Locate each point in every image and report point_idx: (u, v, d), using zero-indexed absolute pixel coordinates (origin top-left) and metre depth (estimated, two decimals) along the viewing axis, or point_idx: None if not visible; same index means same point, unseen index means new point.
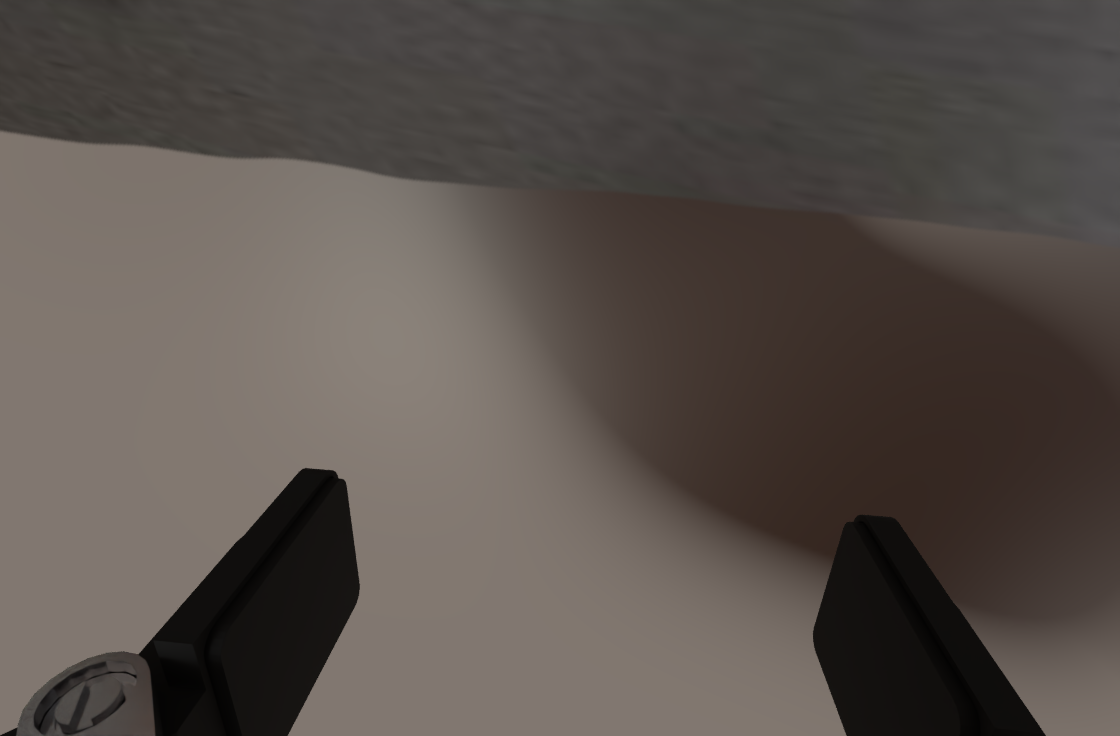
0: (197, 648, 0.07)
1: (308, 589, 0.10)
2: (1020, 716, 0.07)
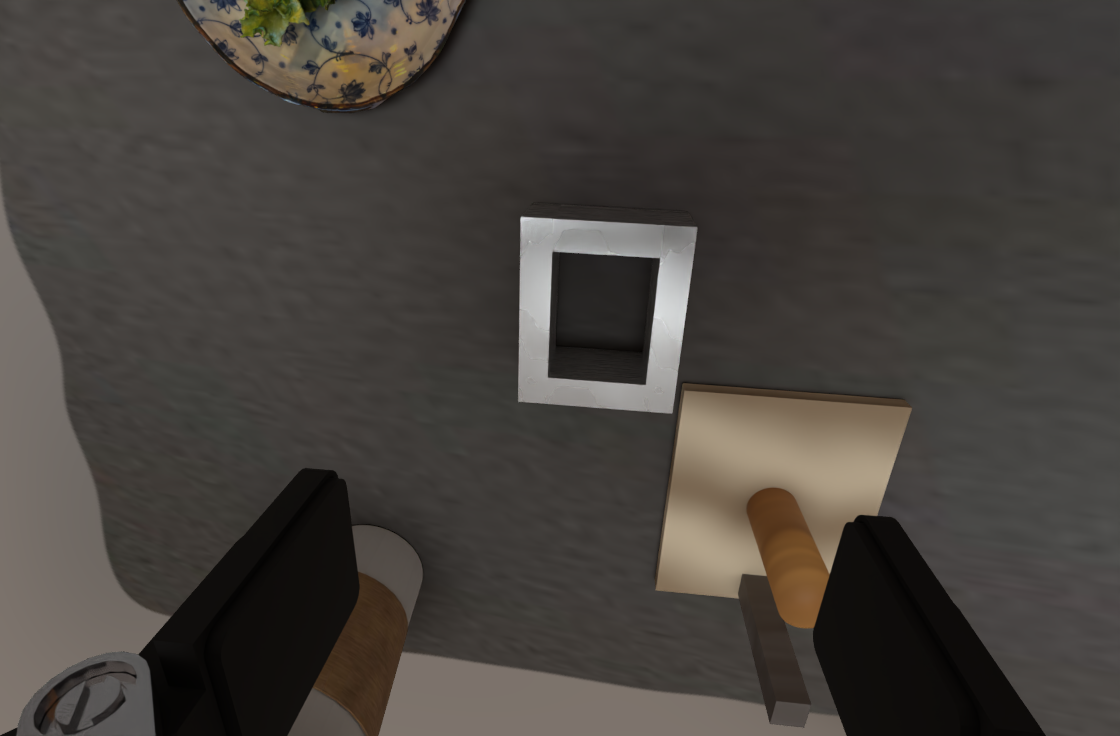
0: (197, 648, 0.07)
1: (308, 589, 0.10)
2: (1020, 716, 0.07)
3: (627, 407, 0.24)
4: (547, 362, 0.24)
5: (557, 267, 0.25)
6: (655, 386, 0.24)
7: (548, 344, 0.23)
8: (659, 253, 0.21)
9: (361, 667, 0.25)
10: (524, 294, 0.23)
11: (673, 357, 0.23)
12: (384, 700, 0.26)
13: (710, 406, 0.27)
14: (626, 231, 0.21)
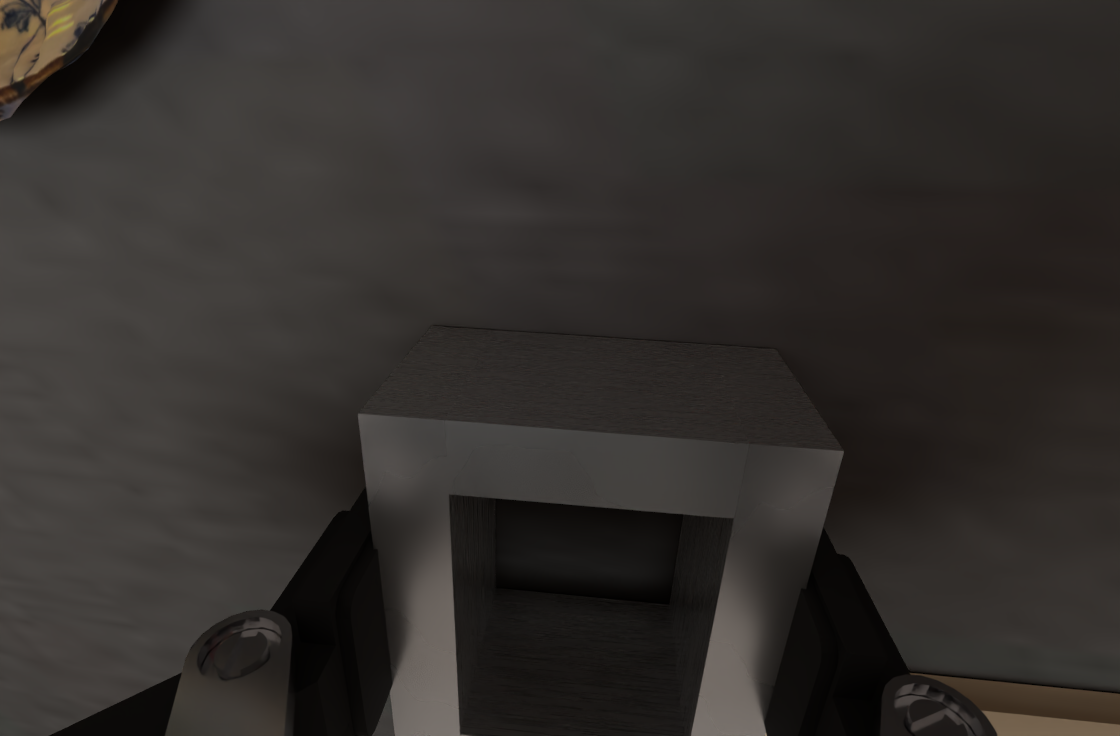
0: (330, 606, 0.08)
1: None
2: (871, 644, 0.07)
3: None
4: (457, 706, 0.10)
5: None
6: None
7: (457, 673, 0.10)
8: (732, 508, 0.08)
9: None
10: (388, 580, 0.09)
11: (754, 715, 0.10)
12: None
13: None
14: (644, 455, 0.08)
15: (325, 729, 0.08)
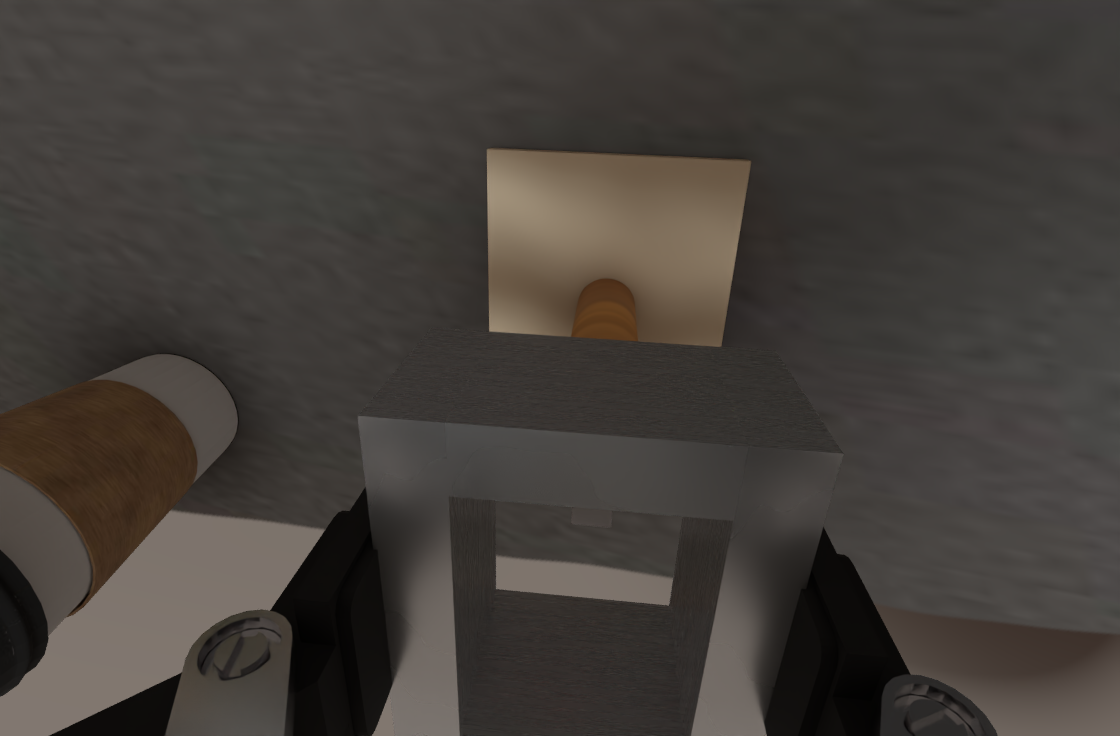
0: (330, 606, 0.08)
1: None
2: (871, 644, 0.07)
3: None
4: (457, 708, 0.10)
5: None
6: None
7: (457, 675, 0.10)
8: (732, 510, 0.08)
9: (91, 464, 0.21)
10: (388, 582, 0.09)
11: (754, 717, 0.10)
12: (129, 511, 0.22)
13: (519, 169, 0.23)
14: (644, 457, 0.08)
15: (325, 729, 0.08)
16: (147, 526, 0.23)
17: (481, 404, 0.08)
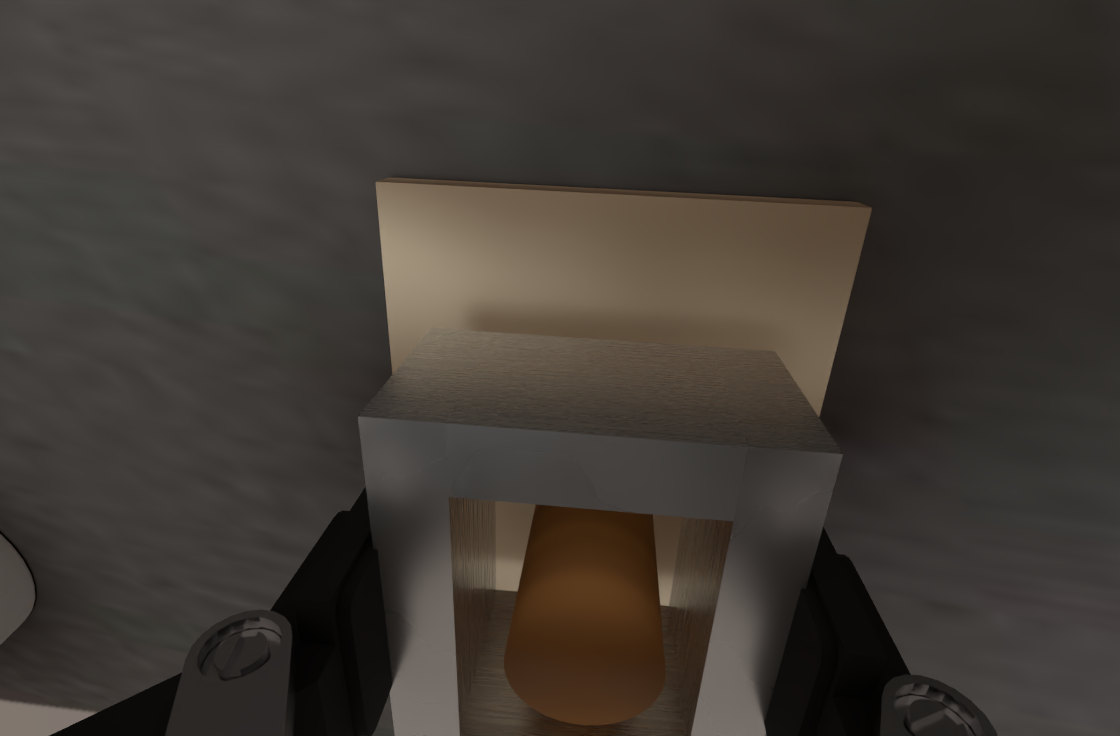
0: (330, 606, 0.08)
1: None
2: (871, 644, 0.07)
3: None
4: (457, 708, 0.10)
5: None
6: None
7: (457, 675, 0.10)
8: (731, 510, 0.08)
9: None
10: (388, 582, 0.09)
11: (754, 717, 0.10)
12: None
13: (437, 219, 0.12)
14: (643, 458, 0.08)
15: (325, 729, 0.08)
16: None
17: (481, 405, 0.08)
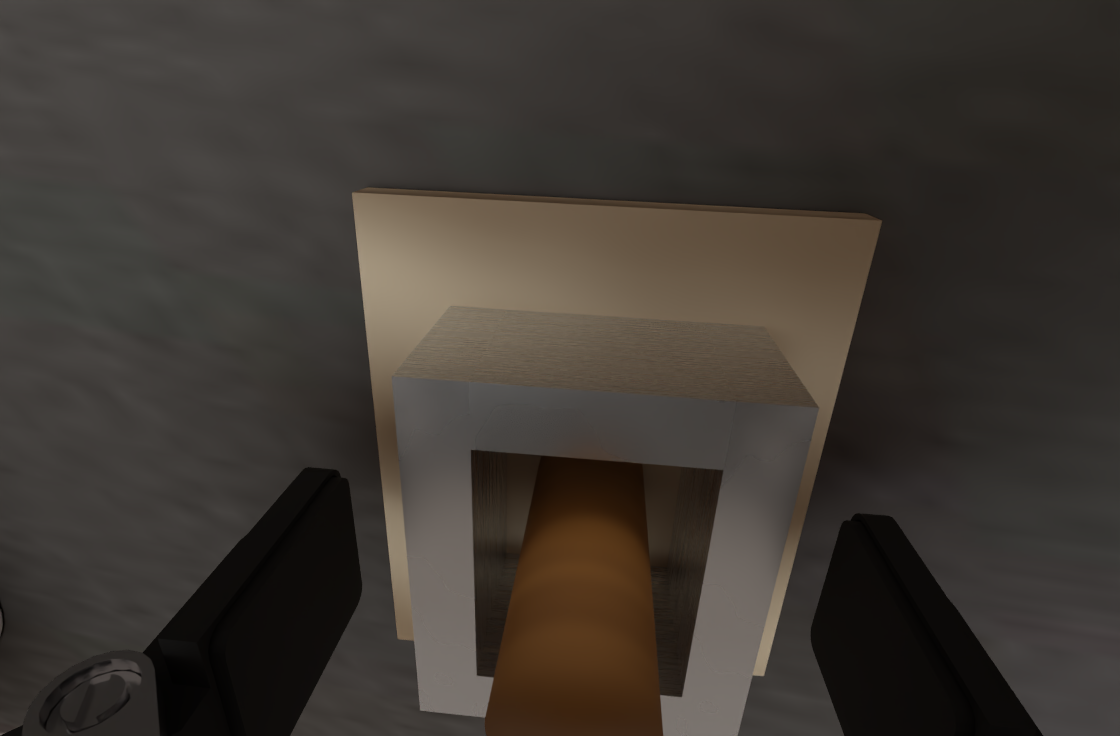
0: (202, 646, 0.07)
1: (311, 588, 0.10)
2: (1015, 713, 0.07)
3: None
4: (474, 649, 0.11)
5: None
6: (702, 700, 0.11)
7: (475, 618, 0.11)
8: (722, 460, 0.09)
9: None
10: (415, 530, 0.10)
11: (743, 654, 0.11)
12: None
13: (418, 232, 0.12)
14: (644, 412, 0.09)
15: None
16: None
17: (499, 368, 0.09)
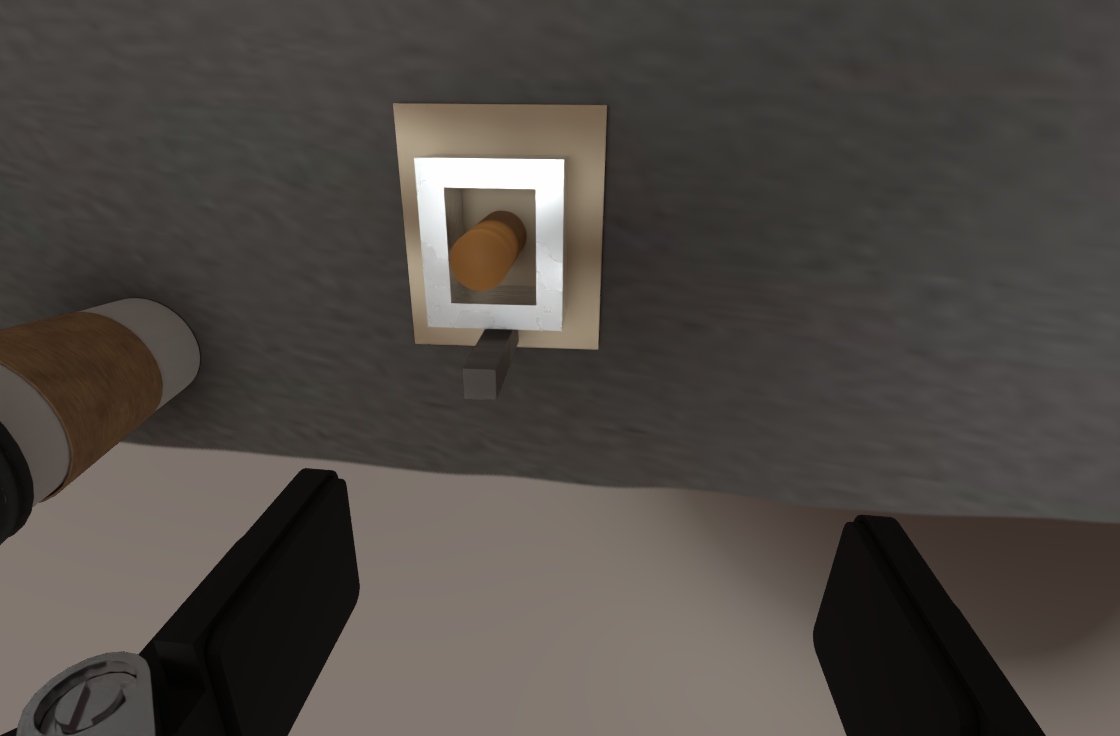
0: (197, 648, 0.07)
1: (308, 589, 0.10)
2: (1020, 716, 0.07)
3: (522, 327, 0.28)
4: (449, 289, 0.27)
5: (459, 209, 0.28)
6: (544, 306, 0.27)
7: (449, 272, 0.27)
8: (534, 184, 0.25)
9: (68, 367, 0.26)
10: (423, 227, 0.26)
11: (557, 278, 0.27)
12: (101, 409, 0.27)
13: (420, 120, 0.28)
14: (504, 166, 0.25)
15: None
16: (118, 428, 0.28)
17: (453, 157, 0.25)
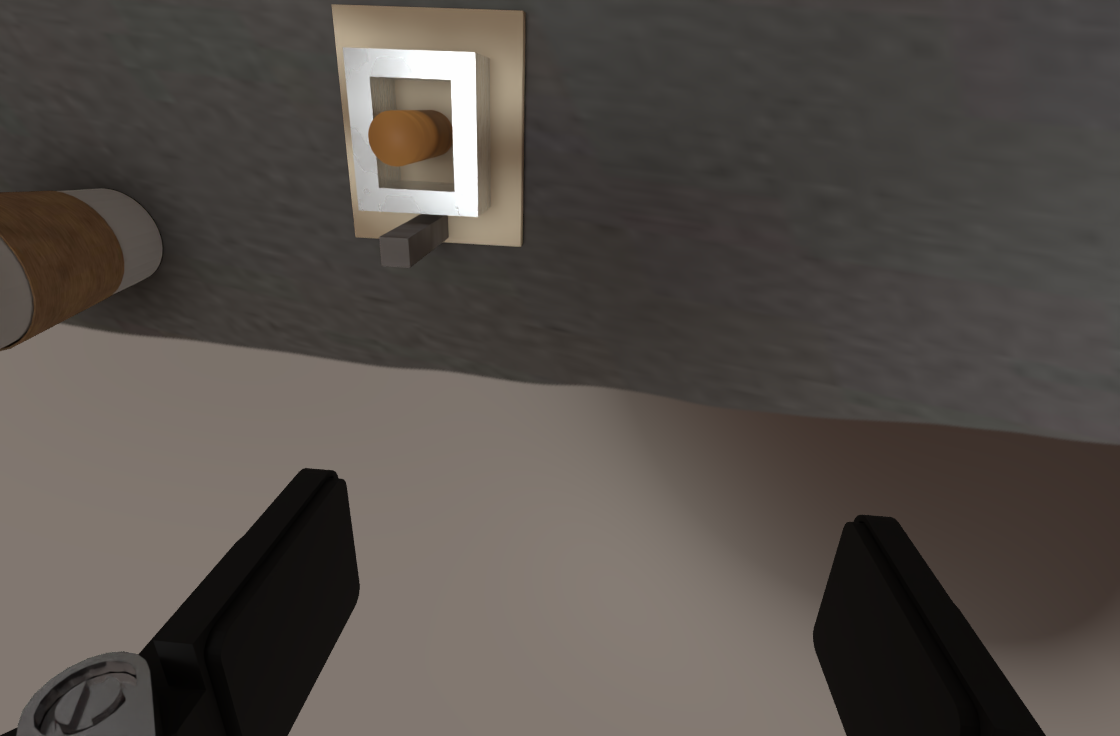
0: (197, 648, 0.07)
1: (308, 589, 0.10)
2: (1020, 716, 0.07)
3: (443, 212, 0.31)
4: (377, 174, 0.30)
5: (390, 105, 0.31)
6: (462, 192, 0.30)
7: (376, 158, 0.30)
8: (449, 75, 0.28)
9: (33, 228, 0.29)
10: (352, 114, 0.29)
11: (472, 166, 0.30)
12: (63, 270, 0.30)
13: (356, 20, 0.31)
14: (422, 57, 0.28)
15: None
16: (79, 292, 0.31)
17: None
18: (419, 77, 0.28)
